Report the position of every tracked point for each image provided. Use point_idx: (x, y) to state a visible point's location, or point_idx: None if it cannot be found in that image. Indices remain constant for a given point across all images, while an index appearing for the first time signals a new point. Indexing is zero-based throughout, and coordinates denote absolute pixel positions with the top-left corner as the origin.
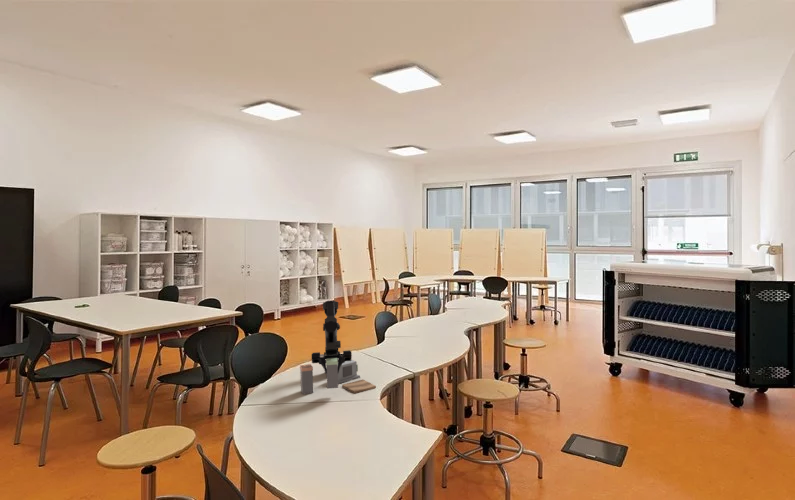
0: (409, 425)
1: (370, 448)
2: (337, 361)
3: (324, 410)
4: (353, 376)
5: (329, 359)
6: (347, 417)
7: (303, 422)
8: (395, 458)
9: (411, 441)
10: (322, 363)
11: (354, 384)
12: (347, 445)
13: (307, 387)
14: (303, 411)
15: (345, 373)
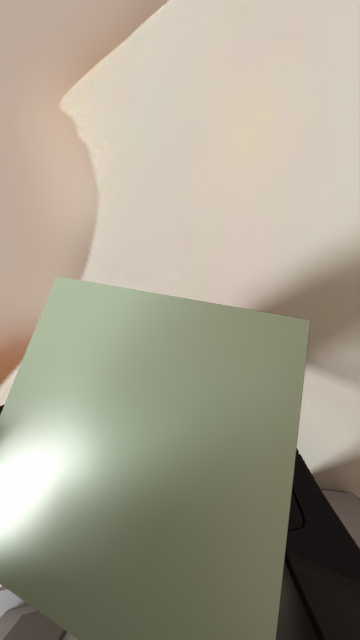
0: (83, 130)
1: (193, 60)
2: (62, 278)
3: (259, 258)
4: (26, 605)
5: (169, 527)
6: (197, 191)
7: (348, 188)
8: (164, 35)
9: (113, 78)
10: (348, 543)
11: None
12: (236, 70)
13: (345, 516)
14: (347, 274)
15: (48, 631)
